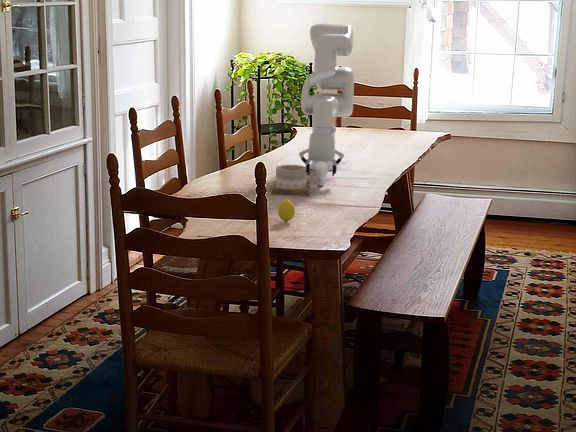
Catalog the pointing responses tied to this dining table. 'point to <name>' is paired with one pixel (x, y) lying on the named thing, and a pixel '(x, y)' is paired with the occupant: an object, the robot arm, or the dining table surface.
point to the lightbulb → (320, 171)
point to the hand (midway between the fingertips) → (320, 174)
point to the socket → (290, 181)
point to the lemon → (286, 210)
